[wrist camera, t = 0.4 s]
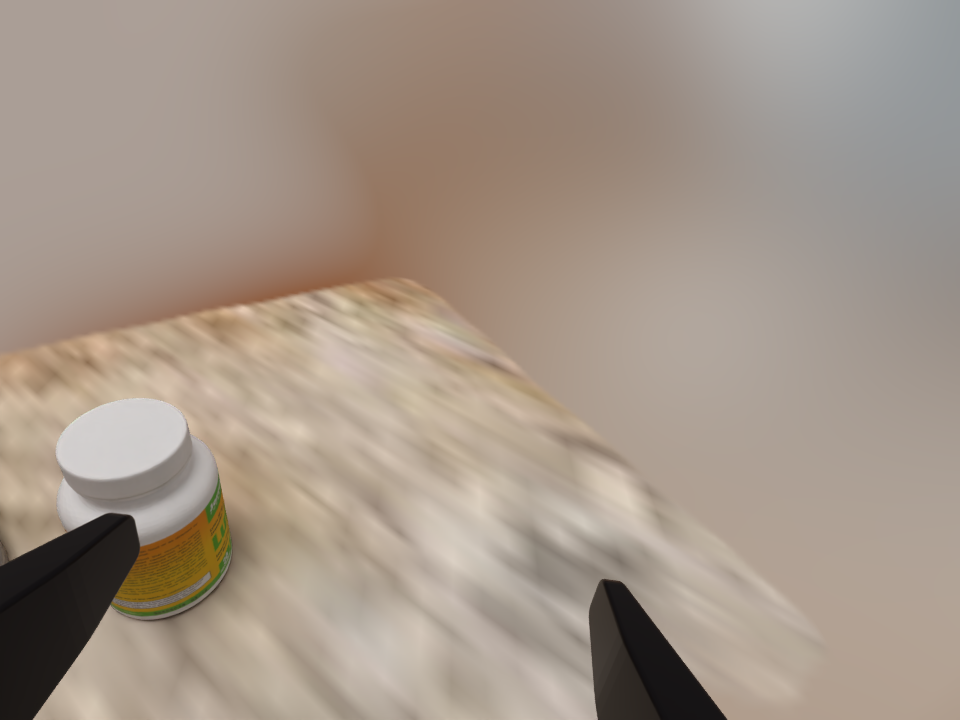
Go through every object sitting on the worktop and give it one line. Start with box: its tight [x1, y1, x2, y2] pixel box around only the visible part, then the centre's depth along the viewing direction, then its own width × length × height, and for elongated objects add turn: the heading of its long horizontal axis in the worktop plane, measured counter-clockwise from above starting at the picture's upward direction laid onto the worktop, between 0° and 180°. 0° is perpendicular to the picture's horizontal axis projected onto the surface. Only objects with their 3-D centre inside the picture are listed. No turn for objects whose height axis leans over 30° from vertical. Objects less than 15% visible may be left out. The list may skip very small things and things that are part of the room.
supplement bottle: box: [56, 398, 232, 620], centre depth 21 cm, size 5×5×10 cm
